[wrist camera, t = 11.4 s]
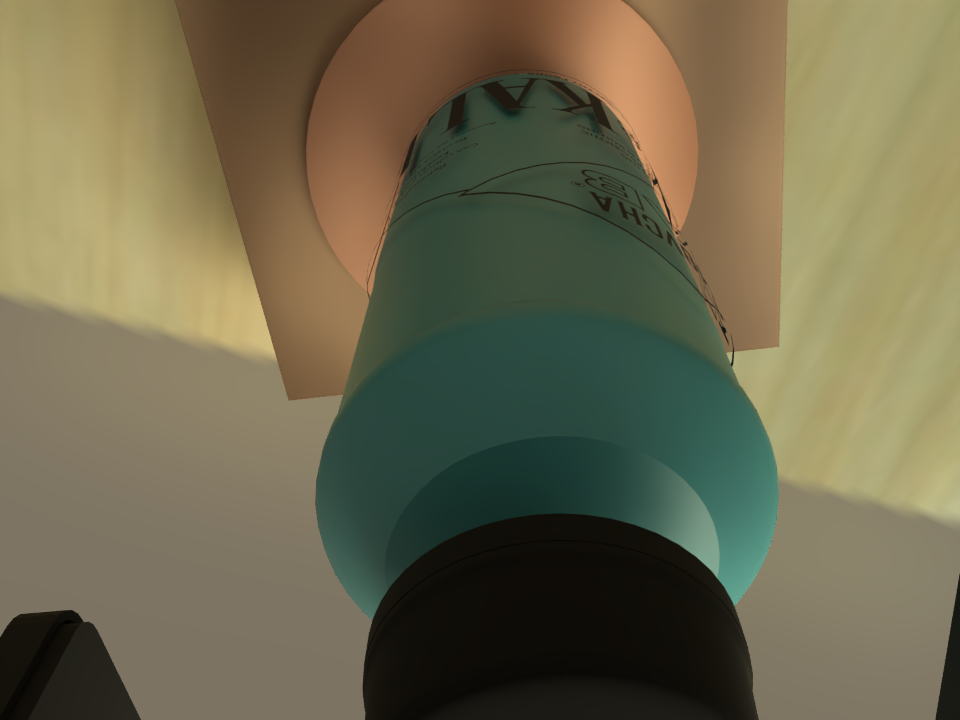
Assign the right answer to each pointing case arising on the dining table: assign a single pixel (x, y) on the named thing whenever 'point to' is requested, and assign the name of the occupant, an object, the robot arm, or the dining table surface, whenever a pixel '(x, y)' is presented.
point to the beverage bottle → (543, 435)
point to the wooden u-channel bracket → (430, 78)
